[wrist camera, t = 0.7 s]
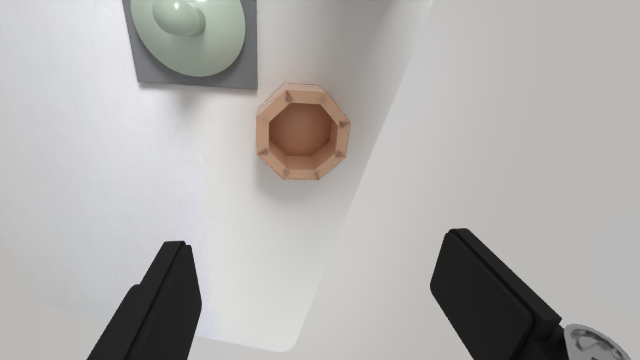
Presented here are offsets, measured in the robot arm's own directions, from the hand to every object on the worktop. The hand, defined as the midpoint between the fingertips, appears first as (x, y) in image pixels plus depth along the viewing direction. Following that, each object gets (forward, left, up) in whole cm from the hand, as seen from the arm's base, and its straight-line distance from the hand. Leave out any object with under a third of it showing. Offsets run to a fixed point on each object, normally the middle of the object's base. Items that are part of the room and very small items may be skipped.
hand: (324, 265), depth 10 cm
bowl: (+1, +1, -25) cm, 25 cm away
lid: (-9, -10, -25) cm, 28 cm away
